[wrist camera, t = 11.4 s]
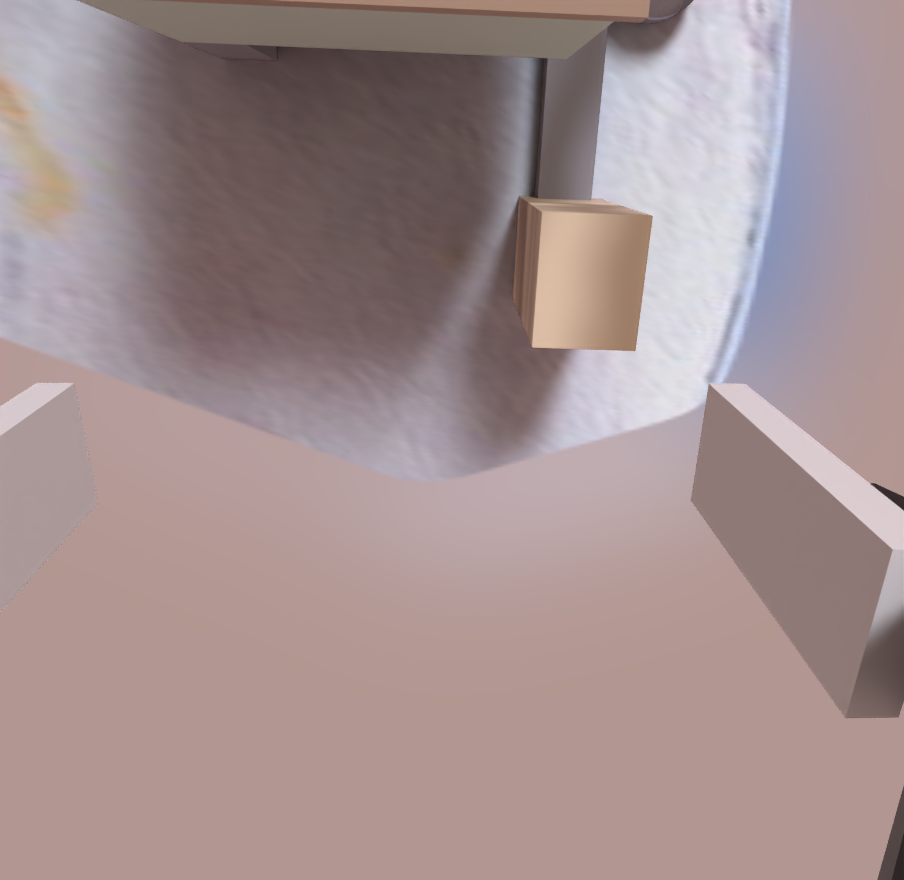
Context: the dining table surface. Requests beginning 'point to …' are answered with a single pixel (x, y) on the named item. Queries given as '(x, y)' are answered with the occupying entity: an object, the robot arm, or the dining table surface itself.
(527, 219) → the wooden toy block
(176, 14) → the cabinet
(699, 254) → the dining table surface
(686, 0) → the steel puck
